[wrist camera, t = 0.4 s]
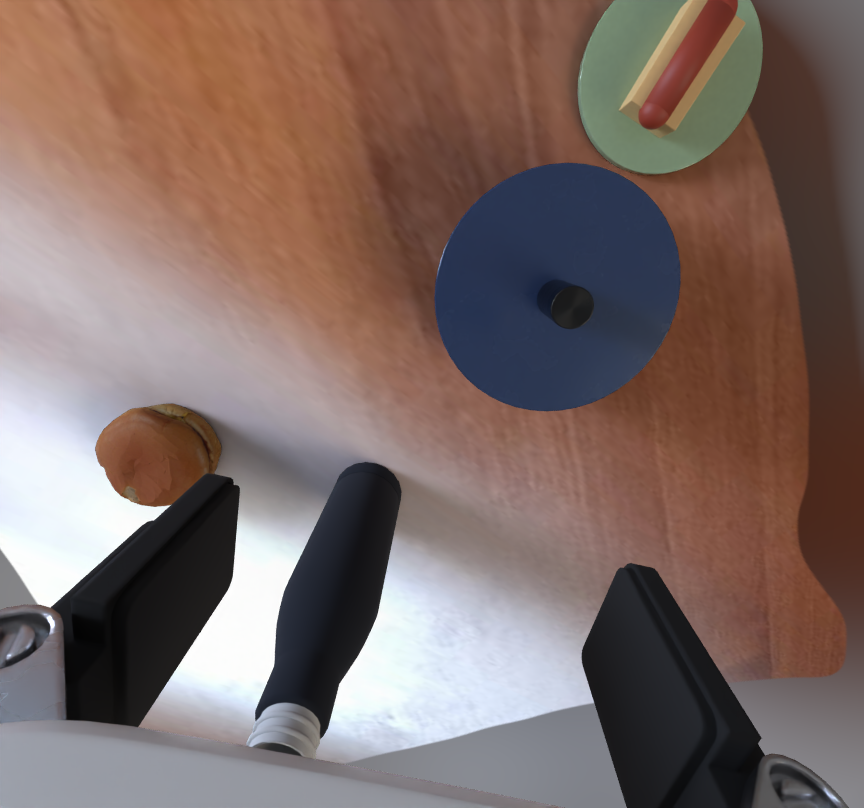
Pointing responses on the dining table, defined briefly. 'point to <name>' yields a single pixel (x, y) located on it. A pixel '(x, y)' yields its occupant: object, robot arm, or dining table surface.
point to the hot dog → (682, 64)
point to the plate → (622, 65)
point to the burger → (157, 453)
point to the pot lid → (557, 287)
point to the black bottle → (328, 610)
